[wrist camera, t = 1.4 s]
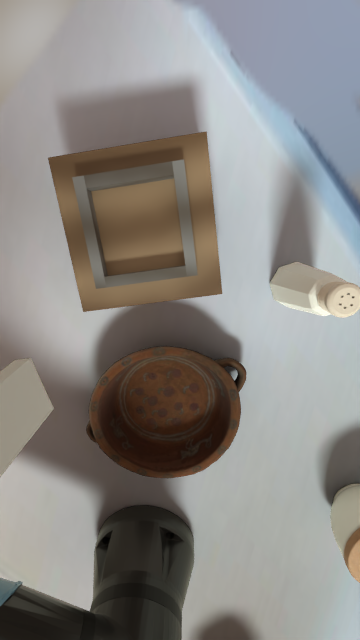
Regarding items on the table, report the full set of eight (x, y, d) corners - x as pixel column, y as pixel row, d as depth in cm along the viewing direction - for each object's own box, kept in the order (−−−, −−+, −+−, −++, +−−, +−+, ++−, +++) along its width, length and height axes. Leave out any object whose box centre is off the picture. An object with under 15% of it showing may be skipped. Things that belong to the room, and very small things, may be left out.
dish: (268, 414, 36) (280, 440, 31) (129, 473, 39) (121, 505, 34) (212, 303, 32) (216, 311, 27) (63, 377, 35) (44, 397, 30)
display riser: (215, 286, 31) (223, 295, 24) (102, 301, 32) (78, 314, 25) (202, 156, 28) (207, 124, 21) (75, 177, 29) (40, 152, 22)
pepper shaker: (272, 259, 31) (319, 263, 20) (319, 263, 31) (390, 268, 20) (265, 305, 32) (305, 331, 21) (310, 308, 32) (372, 336, 21)
